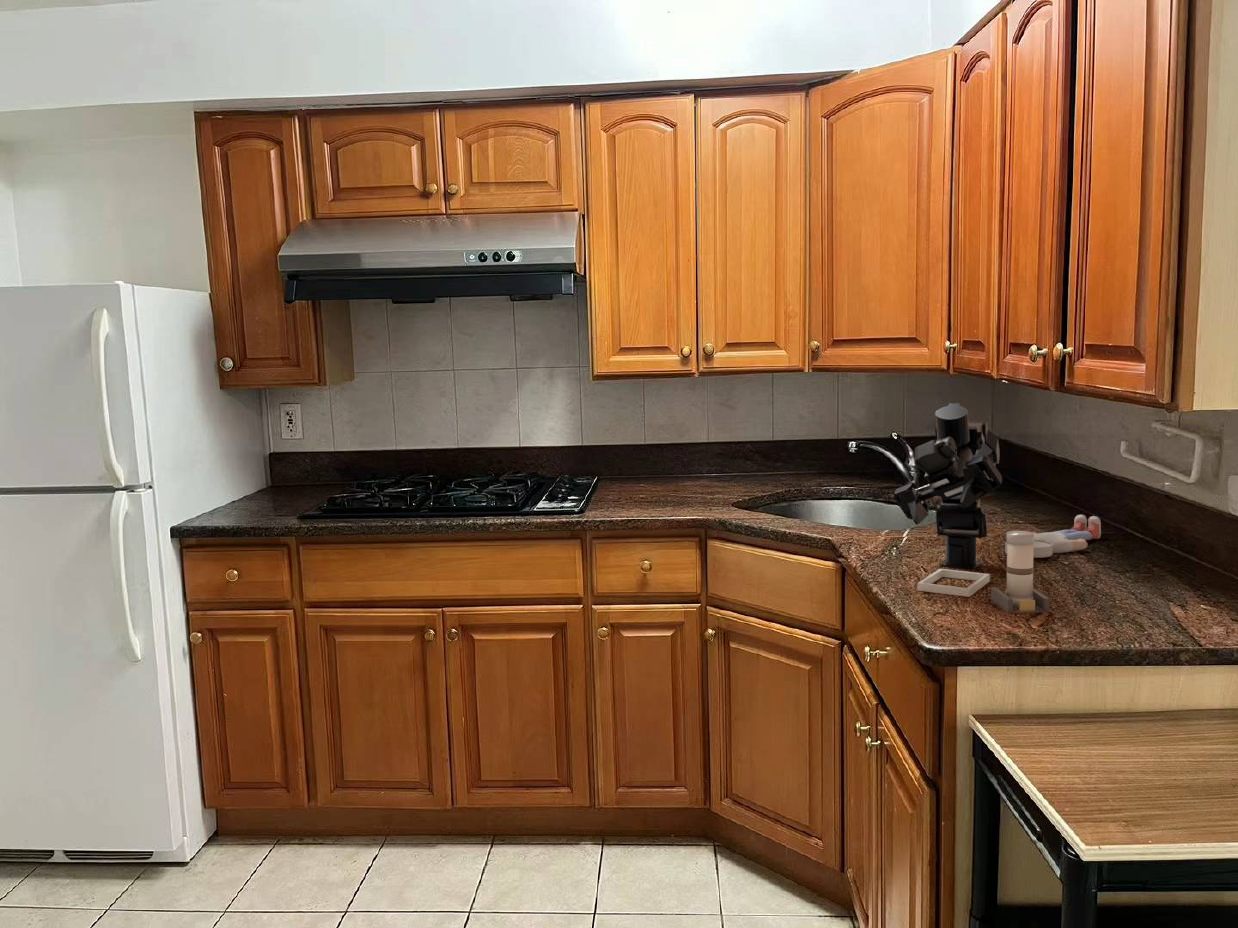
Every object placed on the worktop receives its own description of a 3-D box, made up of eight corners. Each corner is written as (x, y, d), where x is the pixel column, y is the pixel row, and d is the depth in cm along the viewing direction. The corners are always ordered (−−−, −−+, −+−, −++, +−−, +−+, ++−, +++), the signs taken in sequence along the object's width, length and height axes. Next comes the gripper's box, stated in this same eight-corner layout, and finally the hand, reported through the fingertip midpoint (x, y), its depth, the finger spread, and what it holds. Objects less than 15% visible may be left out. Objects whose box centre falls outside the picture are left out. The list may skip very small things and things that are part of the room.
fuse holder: (988, 604, 165) (989, 586, 164) (1030, 603, 164) (1030, 585, 164) (1007, 619, 156) (1007, 600, 155) (1051, 618, 155) (1052, 599, 155)
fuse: (1009, 599, 163) (1010, 529, 161) (1036, 603, 160) (1037, 532, 159) (1002, 605, 160) (1003, 534, 158) (1029, 609, 157) (1030, 536, 156)
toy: (1059, 511, 218) (988, 528, 199) (1117, 518, 208) (1048, 537, 189) (1059, 537, 219) (988, 556, 200) (1116, 544, 209) (1047, 565, 190)
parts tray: (940, 581, 181) (940, 568, 181) (989, 587, 176) (989, 574, 175) (917, 596, 171) (917, 583, 171) (969, 603, 166) (969, 589, 166)
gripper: (886, 451, 185) (868, 496, 173) (976, 413, 173) (963, 459, 161) (917, 496, 187) (901, 543, 175) (1008, 461, 175) (997, 510, 164)
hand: (938, 514), depth 169 cm, fingers open, 9 cm apart
